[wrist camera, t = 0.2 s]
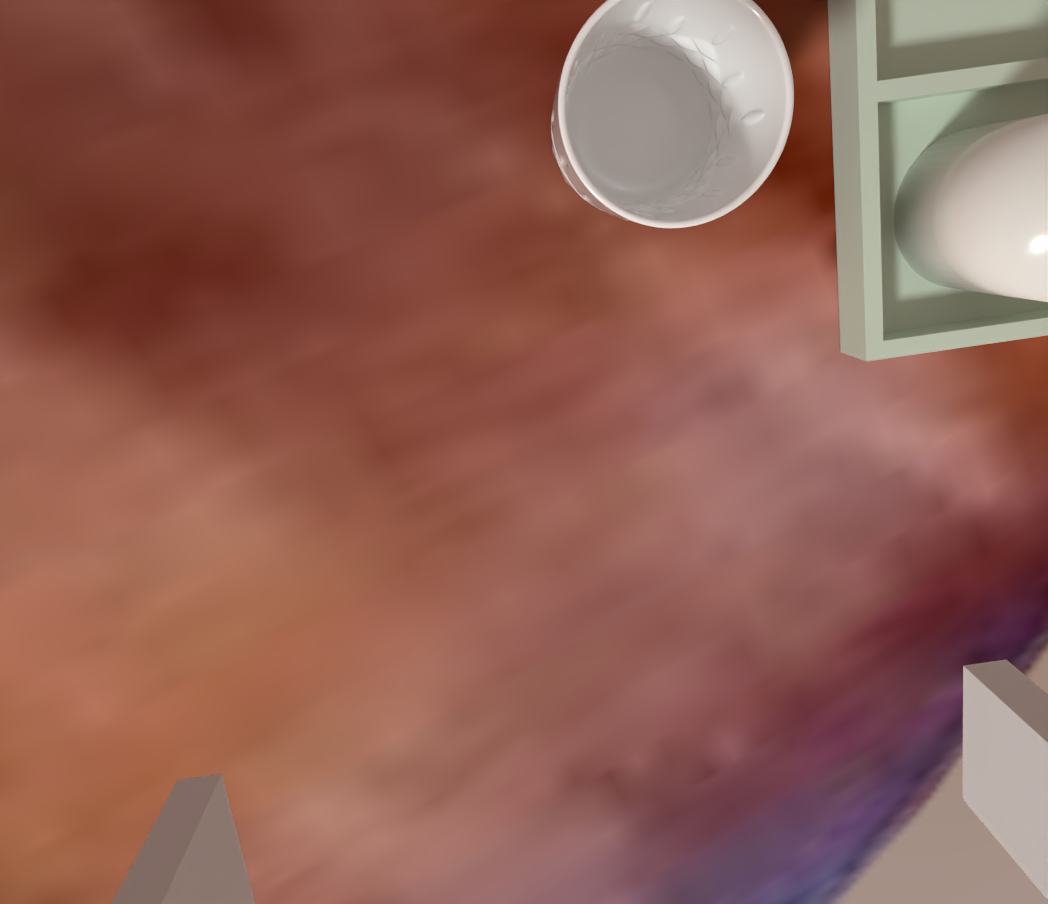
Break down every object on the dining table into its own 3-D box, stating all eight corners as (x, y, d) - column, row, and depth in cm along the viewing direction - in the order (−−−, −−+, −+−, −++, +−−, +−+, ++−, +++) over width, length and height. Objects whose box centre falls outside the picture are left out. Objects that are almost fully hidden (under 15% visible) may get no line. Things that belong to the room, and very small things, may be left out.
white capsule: (891, 139, 38) (1014, 115, 29) (1047, 117, 38) (1215, 87, 29) (894, 298, 40) (1011, 320, 31) (1043, 277, 40) (1200, 293, 31)
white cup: (699, 18, 37) (778, -52, 27) (726, 205, 39) (808, 200, 30) (520, 58, 37) (536, 2, 27) (557, 242, 39) (583, 250, 30)
